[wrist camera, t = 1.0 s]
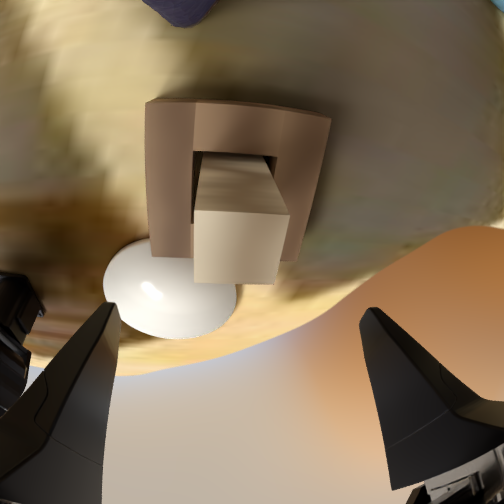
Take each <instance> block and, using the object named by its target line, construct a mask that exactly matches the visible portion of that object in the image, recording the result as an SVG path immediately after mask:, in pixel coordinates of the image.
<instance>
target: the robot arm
mask: <svg viewBox="0 0 504 504" xmlns="http://www.w3.org/2000/svg"><path fill="white" fill-rule="evenodd" d="M43 316H44V312H43V310H42V308H41V306H40V304H39V302H38V300H37V298H36V296H35V294H34V292H33V290H32V287H31V285H30V283H29V281H28V279H27V277H26V276H24V275H16V274H7V273H0V504H102V503H101V502H102V474H103V458H104V447H105V438H106V429H107V421H108V414H109V407H110V401H111V394H112V389H113V383H114V377H115V372H116V367H117V359H118V348H119V338H120V329H121V317H120V314H119V310H118V307H117V304H116V303H115V302H104V303H102V305H101V306H100V307H99V308H98V309H97V310H96V311H95V312H94V313H93V314H92V315H91V316H90V317H89V318H88V320H87V321H86V322H85V323H84V324H83V325H82V326H81V327H80V328H79V329H78V331H77V332H76V333H75V334H74V335H73V336H72V337H71V338H70V340H69V341H68V342H67V343H66V344H65V345H64V346H63V348H62V349H61V350H60V351H59V352H58V353H57V355H56V356H55V357H54V358H53V359H52V360H51V362H50V363H49V364H48V365H47V366H46V368H45V369H44V371H42V373H41V374H40V375H39V376H38V377H37V379H36V380H35V381H34V382H33V383H32V385H31V386H30V387H29V388H28V389H27V390H26V391H25V392H24V393H23V391H24V389H25V387H26V384H27V378H28V371H29V365H30V359H31V352H30V351H29V350H27V349H26V348H24V347H23V346H22V345H23V343H24V340H25V338H26V335H27V334H29V333H30V331H31V329H32V326H33V324H34V322H35V319H36V317H43ZM359 329H360V334H361V339H362V346H363V351H364V358H365V362H366V367H367V370H368V374H369V378H370V382H371V386H372V390H373V394H374V399H375V403H376V407H377V412H378V416H379V421H380V426H381V431H382V436H383V441H384V445H385V452H386V458H387V464H388V470H389V476H390V483H391V488H392V490H397V489H400V488H403V487H407V486H410V485H413V484H416V483H419V482H422V481H424V484H423V485H421V486H419V487H417V488H415V489H413V491H412V493H411V495H410V497H409V498H408V500H407V503H406V504H504V402H502V401H492V400H487V399H484V398H481V397H480V396H479V395H477V394H476V393H475V392H473V391H472V390H471V389H470V388H469V387H467V386H466V385H465V384H464V383H462V382H461V381H460V380H459V379H458V378H456V377H455V376H454V375H453V374H452V373H451V372H449V371H448V370H447V369H446V368H445V367H444V366H443V365H442V364H441V363H439V361H438V360H436V359H435V358H434V357H433V356H432V355H431V354H430V353H429V352H428V351H427V350H426V349H425V348H424V347H422V346H421V345H420V344H419V343H418V342H417V341H416V340H415V339H414V338H412V337H411V336H410V335H409V334H408V333H407V332H406V331H405V330H403V329H402V328H401V327H400V326H399V325H398V324H397V323H396V322H394V321H393V320H392V319H391V318H390V317H389V316H387V315H386V314H385V313H384V312H383V311H382V310H381V309H379V308H378V307H370V308H368V309H367V310H366V312H365V314H364V315H363V317H362V318H361V320H360V323H359ZM22 393H23V395H22ZM21 395H22V396H21ZM20 396H21V397H20Z"/></svg>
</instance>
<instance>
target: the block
mask: <svg viewBox="0 0 504 504" xmlns="http://www.w3.org/2000/svg"><path fill="white" fill-rule="evenodd" d="M289 218H290V214H289V212H288V209H287V207H286V205H285V203H284V201H283V198H282V196H281V194H280V192H279V190H278V188H277V185H276V183H275V181H274V179H273V177H272V175H271V173H270V170H269V168H268V166H267V164H266V162H265V160H264V158H263V156H262V155H256V154H244V153H230V152H213V151H204V153H203V158H202V164H201V170H200V176H199V182H198V189H197V195H196V202H195V209H194V283H215V284H265V285H274V283H275V279H276V275H277V270H278V266H279V262H280V258H281V254H282V249H283V245H284V241H285V236H286V232H287V227H288V223H289Z"/></svg>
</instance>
